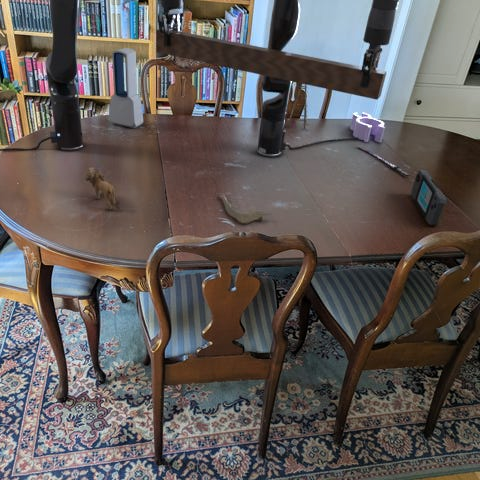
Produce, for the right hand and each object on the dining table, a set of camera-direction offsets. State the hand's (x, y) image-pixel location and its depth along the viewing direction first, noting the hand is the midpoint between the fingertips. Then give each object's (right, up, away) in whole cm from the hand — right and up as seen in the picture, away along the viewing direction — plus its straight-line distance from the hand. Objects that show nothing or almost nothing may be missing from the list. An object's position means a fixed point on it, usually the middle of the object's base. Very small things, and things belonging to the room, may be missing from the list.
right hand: (365, 85), depth 144 cm
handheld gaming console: (+22, -38, +12) cm, 46 cm away
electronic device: (-87, +1, +54) cm, 103 cm away
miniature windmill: (-12, +5, +73) cm, 75 cm away
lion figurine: (-81, -36, -3) cm, 88 cm away
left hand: (-64, +22, +24) cm, 72 cm away
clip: (+19, +1, +71) cm, 74 cm away
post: (-32, +9, +13) cm, 36 cm away
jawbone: (-38, -38, +1) cm, 54 cm away
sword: (+18, -16, +45) cm, 51 cm away
